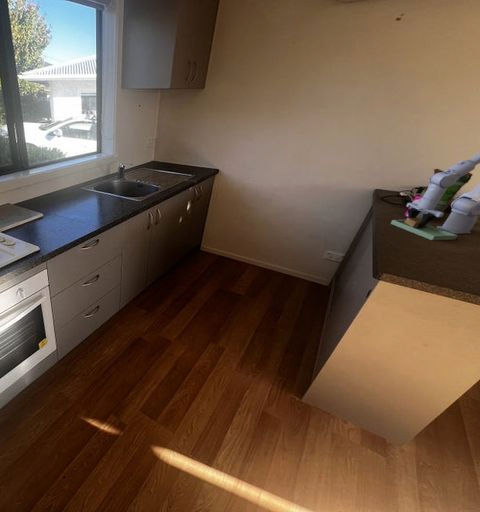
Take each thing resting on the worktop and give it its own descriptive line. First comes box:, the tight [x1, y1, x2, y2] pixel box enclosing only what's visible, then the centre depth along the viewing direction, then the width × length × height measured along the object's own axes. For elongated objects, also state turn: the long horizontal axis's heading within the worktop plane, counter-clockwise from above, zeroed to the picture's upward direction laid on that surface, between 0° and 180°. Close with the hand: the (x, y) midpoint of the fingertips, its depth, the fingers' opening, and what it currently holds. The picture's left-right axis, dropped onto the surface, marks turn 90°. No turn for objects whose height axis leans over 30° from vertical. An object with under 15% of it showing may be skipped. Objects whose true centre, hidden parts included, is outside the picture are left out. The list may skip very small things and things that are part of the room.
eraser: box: [403, 217, 431, 229], centre depth 142 cm, size 8×4×4 cm, turn 96°
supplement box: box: [404, 195, 428, 218], centre depth 153 cm, size 6×6×12 cm
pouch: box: [419, 168, 474, 213], centre depth 153 cm, size 11×12×25 cm
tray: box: [390, 219, 459, 241], centre depth 140 cm, size 12×19×2 cm, turn 6°
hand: (414, 225), depth 143 cm, fingers closed on eraser, 4 cm apart
